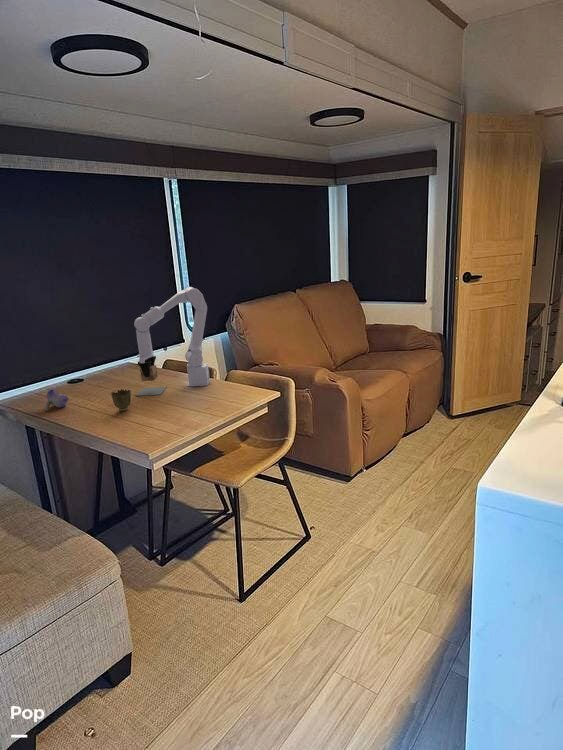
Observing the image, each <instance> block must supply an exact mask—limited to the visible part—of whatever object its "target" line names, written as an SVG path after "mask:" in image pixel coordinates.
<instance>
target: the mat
mask: <svg viewBox="0 0 563 750" xmlns="http://www.w3.org/2000/svg"><path fill="white" fill-rule="evenodd" d="M167 388H168V386H151V387H150V386H149V387H142V388H141V389H140V390H139V391H138V393H137V394H136V395H135V397H148V396H149V397H152V396H161V395H163V393H164V392H165V390H166V389H167Z"/></svg>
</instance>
